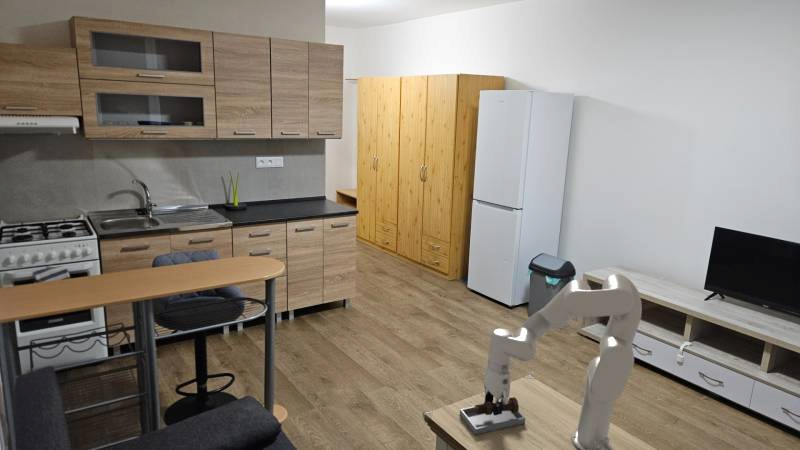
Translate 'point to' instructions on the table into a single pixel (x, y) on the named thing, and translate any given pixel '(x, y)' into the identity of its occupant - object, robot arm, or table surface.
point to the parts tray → (490, 420)
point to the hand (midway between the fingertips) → (492, 408)
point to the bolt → (489, 407)
